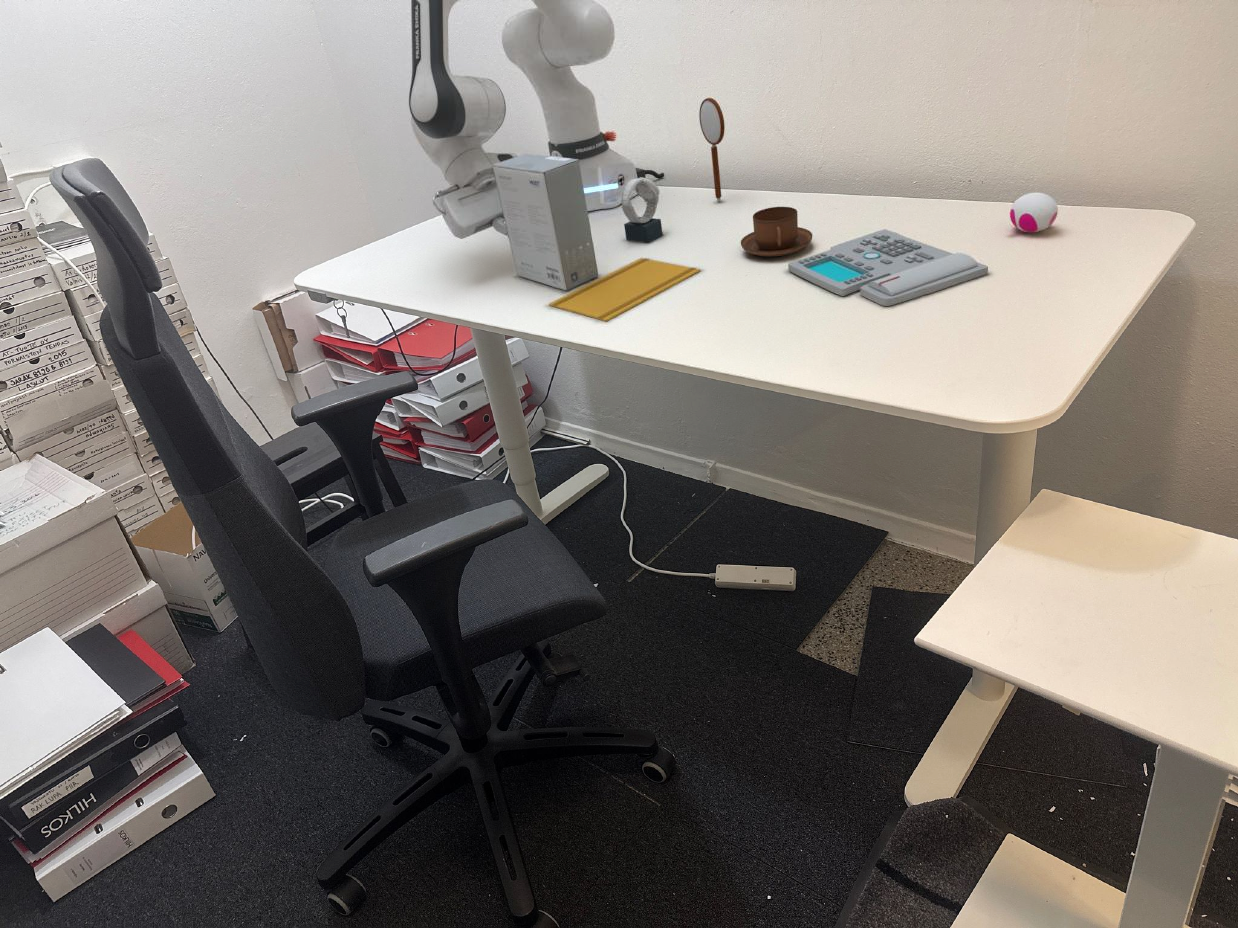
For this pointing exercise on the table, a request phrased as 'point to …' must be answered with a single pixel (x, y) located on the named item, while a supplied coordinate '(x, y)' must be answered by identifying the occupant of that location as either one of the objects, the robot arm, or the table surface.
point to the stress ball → (1033, 212)
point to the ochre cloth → (624, 289)
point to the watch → (646, 225)
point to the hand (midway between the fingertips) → (519, 237)
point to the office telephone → (887, 268)
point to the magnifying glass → (713, 134)
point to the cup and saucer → (776, 233)
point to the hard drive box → (547, 219)
